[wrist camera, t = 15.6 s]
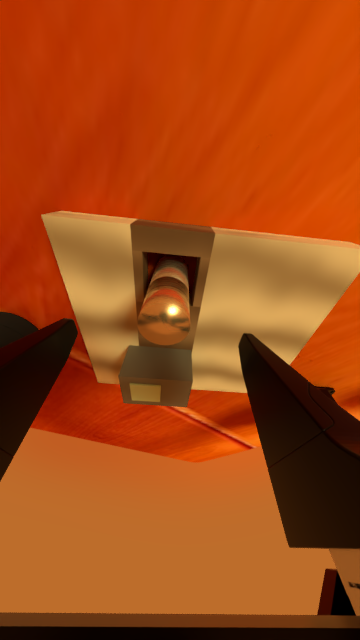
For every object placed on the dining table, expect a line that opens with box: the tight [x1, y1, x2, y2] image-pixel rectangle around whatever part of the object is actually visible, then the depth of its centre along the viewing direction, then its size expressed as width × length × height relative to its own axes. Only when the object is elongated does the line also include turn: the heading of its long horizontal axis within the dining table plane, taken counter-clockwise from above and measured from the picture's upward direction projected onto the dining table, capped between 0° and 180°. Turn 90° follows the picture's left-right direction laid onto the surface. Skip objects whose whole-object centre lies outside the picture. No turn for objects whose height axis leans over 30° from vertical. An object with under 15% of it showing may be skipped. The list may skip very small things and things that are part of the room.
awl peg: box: [137, 254, 190, 345], centre depth 13 cm, size 3×3×8 cm
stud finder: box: [118, 345, 193, 407], centre depth 19 cm, size 5×7×4 cm
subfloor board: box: [41, 211, 360, 393], centre depth 19 cm, size 20×24×2 cm
